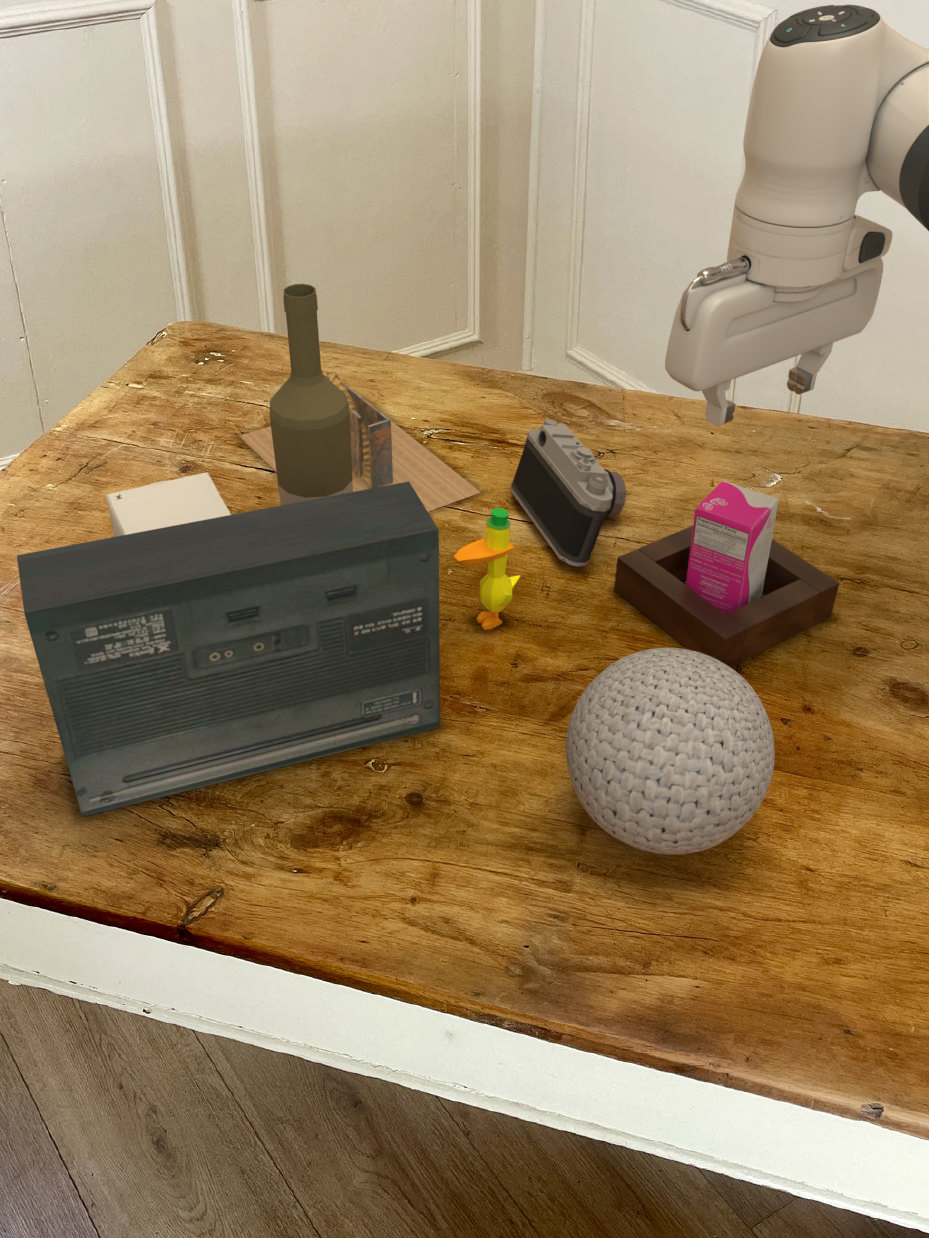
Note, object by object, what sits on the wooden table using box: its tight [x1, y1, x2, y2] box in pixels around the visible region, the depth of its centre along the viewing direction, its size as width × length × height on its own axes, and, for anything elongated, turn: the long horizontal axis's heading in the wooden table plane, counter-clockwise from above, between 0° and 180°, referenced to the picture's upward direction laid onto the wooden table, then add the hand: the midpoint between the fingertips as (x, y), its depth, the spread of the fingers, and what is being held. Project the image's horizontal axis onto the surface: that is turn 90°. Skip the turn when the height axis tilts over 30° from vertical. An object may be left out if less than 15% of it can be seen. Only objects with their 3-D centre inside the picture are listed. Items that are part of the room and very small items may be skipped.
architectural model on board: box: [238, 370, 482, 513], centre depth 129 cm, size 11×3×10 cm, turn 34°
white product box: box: [105, 472, 232, 537], centre depth 103 cm, size 9×9×15 cm
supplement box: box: [685, 480, 780, 614], centre depth 109 cm, size 6×6×12 cm
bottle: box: [269, 283, 353, 506], centre depth 105 cm, size 7×7×30 cm
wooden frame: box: [613, 525, 840, 668], centre depth 112 cm, size 14×14×4 cm
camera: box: [509, 418, 627, 567], centre depth 121 cm, size 16×9×10 cm, turn 20°
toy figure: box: [453, 507, 522, 631], centre depth 107 cm, size 7×4×12 cm, turn 119°
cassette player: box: [16, 481, 441, 818], centre depth 92 cm, size 29×7×20 cm, turn 110°
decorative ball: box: [565, 647, 776, 856], centre depth 87 cm, size 15×15×15 cm
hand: (759, 405), depth 100 cm, fingers open, 8 cm apart
